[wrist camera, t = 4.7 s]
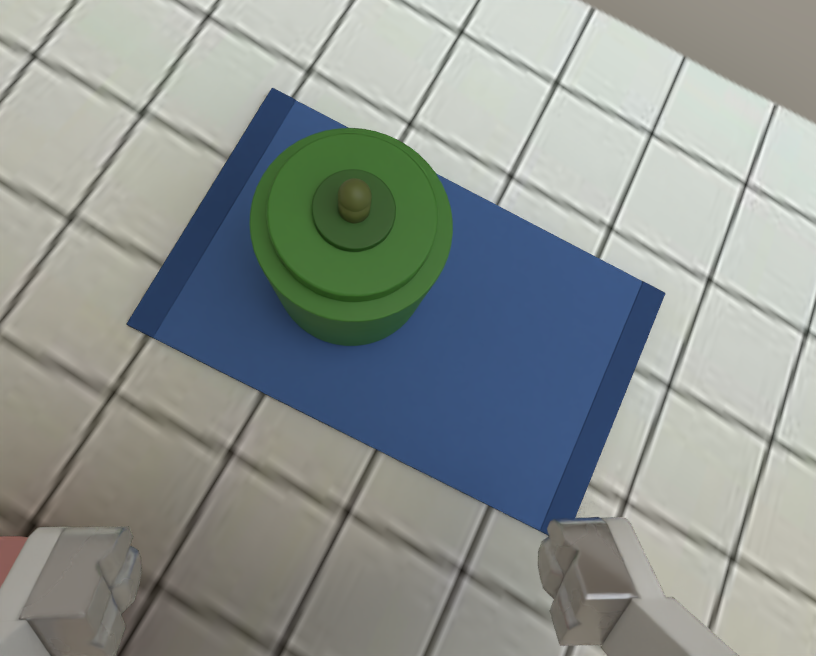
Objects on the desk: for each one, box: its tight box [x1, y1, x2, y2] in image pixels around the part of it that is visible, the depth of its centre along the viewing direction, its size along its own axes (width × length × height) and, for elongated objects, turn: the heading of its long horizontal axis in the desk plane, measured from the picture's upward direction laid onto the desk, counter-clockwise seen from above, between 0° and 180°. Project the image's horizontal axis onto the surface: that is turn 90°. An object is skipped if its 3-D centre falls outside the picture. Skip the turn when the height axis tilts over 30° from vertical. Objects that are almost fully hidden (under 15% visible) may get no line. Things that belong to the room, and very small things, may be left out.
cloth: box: [127, 88, 665, 535], centre depth 23 cm, size 20×12×1 cm, turn 64°
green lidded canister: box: [249, 128, 453, 346], centre depth 18 cm, size 6×6×9 cm
